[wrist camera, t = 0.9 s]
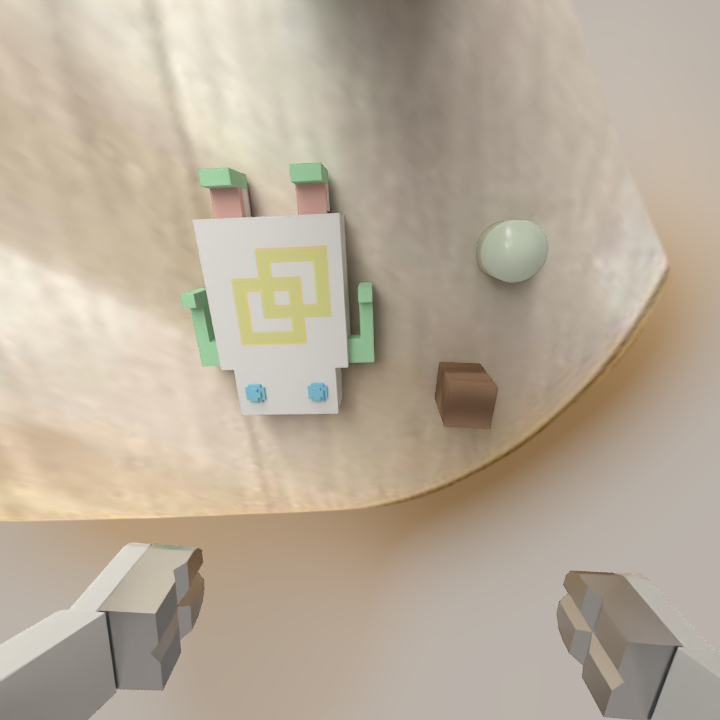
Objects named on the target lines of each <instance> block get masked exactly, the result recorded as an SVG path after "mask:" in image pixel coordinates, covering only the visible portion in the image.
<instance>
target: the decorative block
mask: <svg viewBox="0 0 720 720" xmlns="http://www.w3.org/2000/svg"><path fill="white" fill-rule="evenodd" d="M198 172H199V177H200V183H201V187H205V188H210V194H211V200H212V206H213V212H214V217H215V219H200V220H193V225H194V230H195V235H196V240H197V246H198V251H199V256H200V261H201V266H202V272H203V277H204V282H205V287H206V288H198V289H195V290H192V291H189V292H187V293H184V294H181V295H180V297H181V301H182V306H183V308H190V309H191V314H192V319H193V323H194V328H195V333H196V338H197V342H198V347H199V352H200V357H201V361H202V366H221V370H234V374H235V379H236V385H237V391H238V396H239V402H240V407H241V413H242V415H276V414H338V413H339V409H340V404H341V399H342V394H343V390H342V375H341V368H346V367H348V366H349V363H363V362H374V329H373V288H372V282H360V283H359V286H358V302H359V312H360V335H351V333H350V314H349V295H348V277H347V258H346V239H345V220H344V215H343V214H341V213H328V214H327V212H330V202H329V187H328V172H327V169H326V168H325V167H324V166H323V165H322V164H321V163H303V164H290V174H291V182H293V183H295V185H296V195H297V206H298V215H285V216H264V217H252V216H251V209H250V202H249V195H248V187H247V180H246V175H245V174H243V173H240V172H238V171H235V170H233V169H230V168H214V169H198ZM208 303H209V304H208ZM209 308H210V309H209ZM210 313H211V314H210ZM212 324H213V325H212ZM213 329H214V330H213ZM214 334H215V335H214Z"/></svg>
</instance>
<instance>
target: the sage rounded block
mask: <svg viewBox="0 0 720 720" xmlns="http://www.w3.org/2000/svg"><path fill="white" fill-rule="evenodd" d="M547 252H548V241H547V237H546V235H545V233H544V231H543V230H542V228H541V227H540V226H538V225H537V224H535V223H534V222H531V221H528V220H509V221H501V222H497V223H495V224H493V225H491V226H490V227H489V228H487V229H486V230H485V231H484V233H483V234H482V235H481V237H480V239H479V241H478V243H477V247H476V259H477V262H478V264H479V266H480V268H481V269H482V270H483V271H484V272H485V273H486V274H488V275H490V276H492V277H495V278H497V279H500V280H502V281H505V282H511V283H515V282H521V281H524V280H526V279H528V278H530V277H532V276H533V275H534V274H535V273H536V272H538V270H539V269H540V268H541V267H542V265H543V263H544V262H545V259H546V256H547Z"/></svg>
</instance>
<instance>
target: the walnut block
mask: <svg viewBox="0 0 720 720" xmlns="http://www.w3.org/2000/svg"><path fill="white" fill-rule="evenodd" d="M497 390H498V387H497V386H496V384H495V383H494V382H493V380H492V379H491V378H490V376H489V375H488V374H487V372H486V371H485V370H484V368H483V367H482V366H481V364H474V363H454V362H439V368H438V377H437V385H436V393H435V400H436V403H437V406H438V409H439V412H440V415H441V418H442V421H443V424H444V426H447V427H465V428H483V429H490V427H491V421H492V416H493V411H494V406H495V400H496V395H497Z"/></svg>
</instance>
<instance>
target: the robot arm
mask: <svg viewBox="0 0 720 720" xmlns="http://www.w3.org/2000/svg"><path fill="white" fill-rule="evenodd" d="M202 563H203V557H202V550H201V549H199V548H195V547H184V546H173V545H162V544H144V543H133V542H131V543H129V544H128V545H126V546H124V547H123V548H122V549H121V551H120V552H119V553H118V554H117V555H116V556H115V557H114V558H113V560H112V561H111V562H110V563H109V564H108V565H107V566H106V568H105V569H104V570H103V571H102V572H101V573H100V574H99V576H98V577H97V578H96V579H95V580H94V581H93V582H92V584H91V585H90V586H89V587H88V588H87V589H86V590H85V592H84V593H83V594H82V595H81V596H80V597H79V598H78V600H77V601H76V602H75V603H74V604H73V605H72V606H71V608H70V609H69V610H59V611H57V612H56V613H54V614H52V615H51V616H49V617H47V618H45V619H43V620H42V621H40V622H38V623H37V624H35V625H33V626H32V627H30V628H28V629H26V630H25V631H23V632H21V633H19V634H18V635H16V636H14V637H13V638H11V639H9V640H7V641H5V642H4V643H2V644H0V720H88V719H89V718H90V717H91V716H92V715H93V714H94V713H95V712H96V711H97V710H99V709H100V708H101V707H102V706H103V705H104V704H105V703H106V702H107V701H108V700H109V699H110V698H111V697H112V696H113V695H114V694H115V693H116V689H129V690H163V689H164V687H165V685H166V683H167V681H168V679H169V677H170V675H171V673H172V670H173V668H174V666H175V664H176V662H177V660H178V658H179V656H180V653H181V645H180V640H181V639H182V638H183V637H184V636H185V635H187V634H188V633H189V632H190V631H192V629H193V627H194V624H195V622H196V620H197V618H198V615H199V612H200V609H201V605H202V602H203V595H204V579H203V577H201V575H200V574H199V573H198V571H199V569H200V567H201V565H202ZM563 585H564V587H565V589H566V590H567V592H568V594H567V595H566V596H564V597H563V598H562V599H561V600H560V601H559V604H558V610H557V620H558V628H559V631H560V634H561V637H562V640H563V642H564V644H565V646H566V648H567V650H568V652H569V653H570V654H571V655H572V656H573V657H574V658H575V659H576V660H577V661H579V662H580V663H581V664H582V665H583V673H582V678H583V680H584V681H585V684H586V685H587V687H588V689H589V691H590V693H591V694H592V696H593V698H594V700H595V702H596V704H597V706H598V708H599V709H600V711H601V713H602V715H603V717H610V718H622V719H632V720H720V650H714V649H713V648H712V647H711V646H710V645H709V644H708V643H707V642H706V641H705V640H704V639H703V637H702V636H701V635H700V634H699V633H698V632H697V631H696V630H695V629H694V628H693V627H692V626H691V625H690V623H689V622H688V621H687V620H686V619H685V618H684V617H683V616H682V615H681V614H680V613H679V612H678V610H677V609H676V608H675V607H674V606H673V605H672V604H671V603H670V602H669V601H668V600H667V599H666V598H665V596H664V595H663V594H662V593H661V592H660V591H659V590H658V589H657V588H656V587H655V586H654V585H653V584H652V583H651V581H650V580H649V579H647V578H646V577H644V576H643V575H641V574H630V573H606V572H586V571H570V572H569V573H568V574H567V575H566V577H565V581H564V584H563Z"/></svg>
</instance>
